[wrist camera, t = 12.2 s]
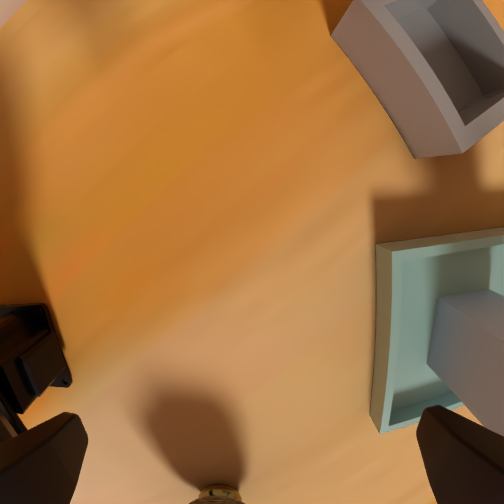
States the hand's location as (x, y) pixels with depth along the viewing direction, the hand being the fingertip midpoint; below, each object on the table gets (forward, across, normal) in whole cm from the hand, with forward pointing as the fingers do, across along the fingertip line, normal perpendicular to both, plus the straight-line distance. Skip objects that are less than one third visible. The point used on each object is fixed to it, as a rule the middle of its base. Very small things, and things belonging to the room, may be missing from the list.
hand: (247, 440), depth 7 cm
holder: (+13, -12, -14) cm, 22 cm away
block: (+12, -14, +4) cm, 19 cm away
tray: (+13, -14, +4) cm, 19 cm away
